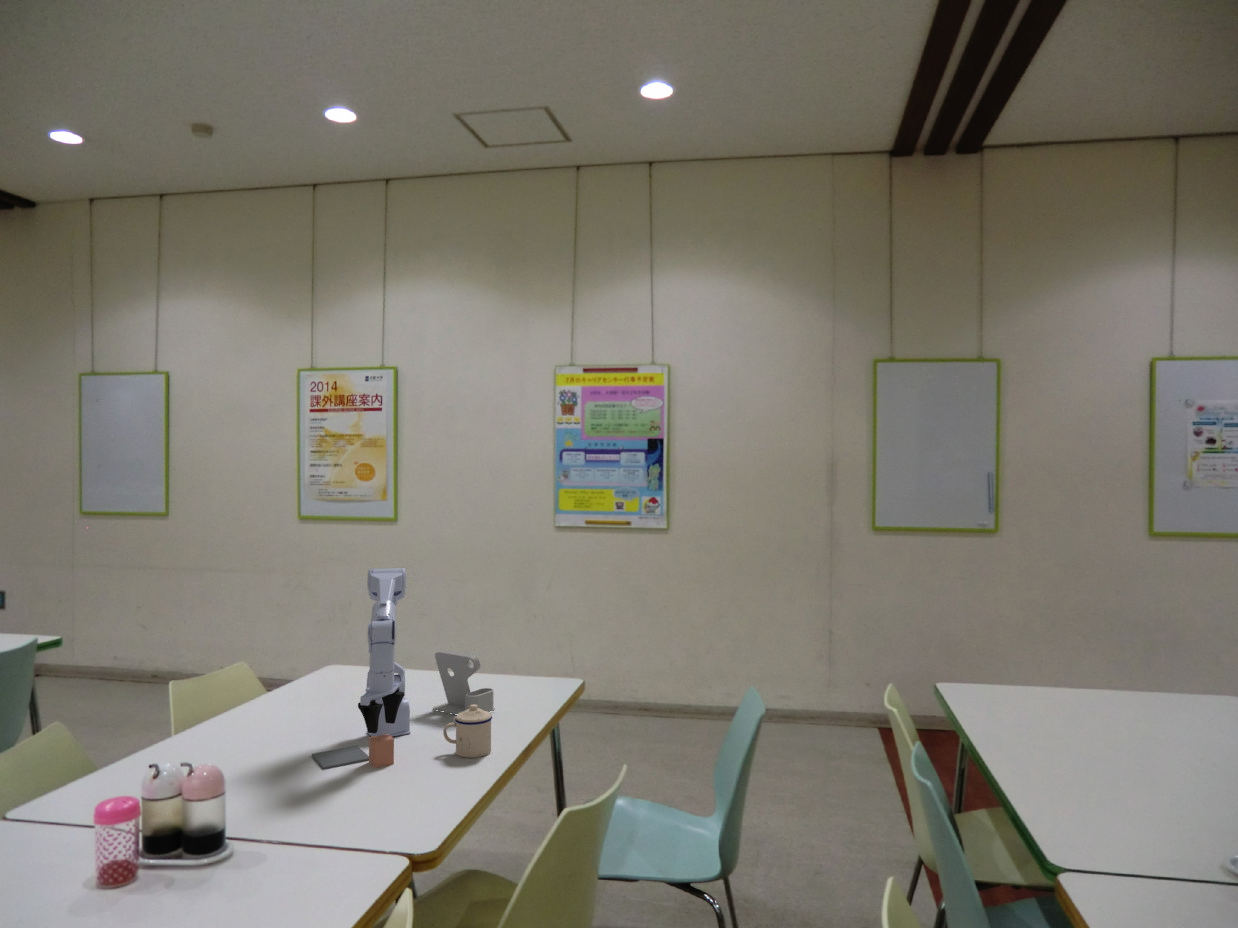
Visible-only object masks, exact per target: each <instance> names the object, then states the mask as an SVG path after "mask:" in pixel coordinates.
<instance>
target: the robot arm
mask: <svg viewBox="0 0 1238 928" xmlns="http://www.w3.org/2000/svg"><path fill="white" fill-rule="evenodd" d="M367 570H368V571H367V581H366V583H367V590H368V591H367V592H368V596H369V599H370V600H373V601H375V603H373V604H372V606H371V607H372V608H371V618H370V623H368V625H367V643H368V644H367V645H368V653H369V670H368V672H367V678H366V687H365V693H364V694H362V696H360V701H359V702H358V703H357V707H358V709H359V710H360V713H361V714H362V716H363V720H364V722H365V727H366V733H367V734H369V735H370V737H373V736H379V735H384V734H389V735H390V736H391V737H392V738H394V737H397V736H398V737H399V736H403V735H409V734H411V731H410V725H411V721H410V720H411V715H410V714H411V712H410V711H411V708H410V702H409V700H408V698H407V697H406V675H405V674H406V671H405V669H404V667H403V666H402V665H400V664H399V663H398V662H396V659H395V657H396V656H395V654H396V653H395V649H396V648H395V645H396V643H397V635H398V633H397V632H398V631H397V627H398V626H397V621H396V615H397V614H396V613H397V612H396V611H397V608H396V607H397V605H398V602H399V600H402V599H404V598H405V595H406V589H407V588H406V587H407V586H406V583H407V572H406V571H407V569H405V568H404V567H402V568H401V567H396V568H395V567H393V568H389V567H388V568H369V569H367Z"/></svg>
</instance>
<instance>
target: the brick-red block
mask: <svg viewBox="0 0 1238 928" xmlns="http://www.w3.org/2000/svg"><path fill="white" fill-rule="evenodd" d="M368 756H369V760H368V763H369V764H370V763H371V764H370V765H371V766H372V767H373V766H374V767H373V768H374V769H376V768H381V766H382V767H386V766H392V765H394V763H395V761H394V760H395V759H394V758H395V738H394V737H391V736H390V735H389V734H384V735H379V736H373V737H372V736H369V737H368Z"/></svg>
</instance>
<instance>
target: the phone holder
mask: <svg viewBox="0 0 1238 928" xmlns="http://www.w3.org/2000/svg"><path fill="white" fill-rule="evenodd" d="M434 658H435V663H436V665H437V669H438V671H439V675H440V676H439V677H440V680H441V683H442V686H443V690H444V694H445V697H446V700H447V702H444V703H442V704H439V705H436V706H433V707H432V711H433V710H438V711H444V712H447V713H452V714H459V713H461V712H464V711H466V710H467V709H470V705H473V704H475V705H477V706H478V708H479V709H482V710H483V711H487V712H490V711H494V710H495V711H496V708H495V707H494V689H493V688H490V687H485V688H479V689H476V690H473V691H471V689H470V684H469V682H468V680H469V678H470V677H472V676H473V675H474V674H475V673H477V672H478V671H479V670H480V669H481V664H480V663H481V662H480V659H479V658H478V657H477V656H476V655H474V654H471V653H466V652H460V651H454V650H453V651H452V650H447V649H442V648H441V649H439V650H438V651H437V652H435V654H434ZM470 661H471V662H472V663H473V664H472V663H471V662H470ZM449 669H450V670H451V671H452V672H453V675H451V674H450V672H449V671H448V670H449Z"/></svg>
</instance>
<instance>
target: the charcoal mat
mask: <svg viewBox="0 0 1238 928" xmlns="http://www.w3.org/2000/svg"><path fill="white" fill-rule="evenodd" d="M311 757H312V758H313V759H314V760H315V762H316V763H317V764H318V766H320V768H322V770H327V769H331V768H332V769H333V768H337V766H338V767H343V766H348V765H352V764H356V763H357V764H358V763H362V762H367V761H368V762H369V754H367V753H366V752H365V751H364V750H363V749H361V747H359V745H352V746H347V747H342V748H336V749H332V750H324V751H321V752H320V751H319V752H314V753H311Z"/></svg>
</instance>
